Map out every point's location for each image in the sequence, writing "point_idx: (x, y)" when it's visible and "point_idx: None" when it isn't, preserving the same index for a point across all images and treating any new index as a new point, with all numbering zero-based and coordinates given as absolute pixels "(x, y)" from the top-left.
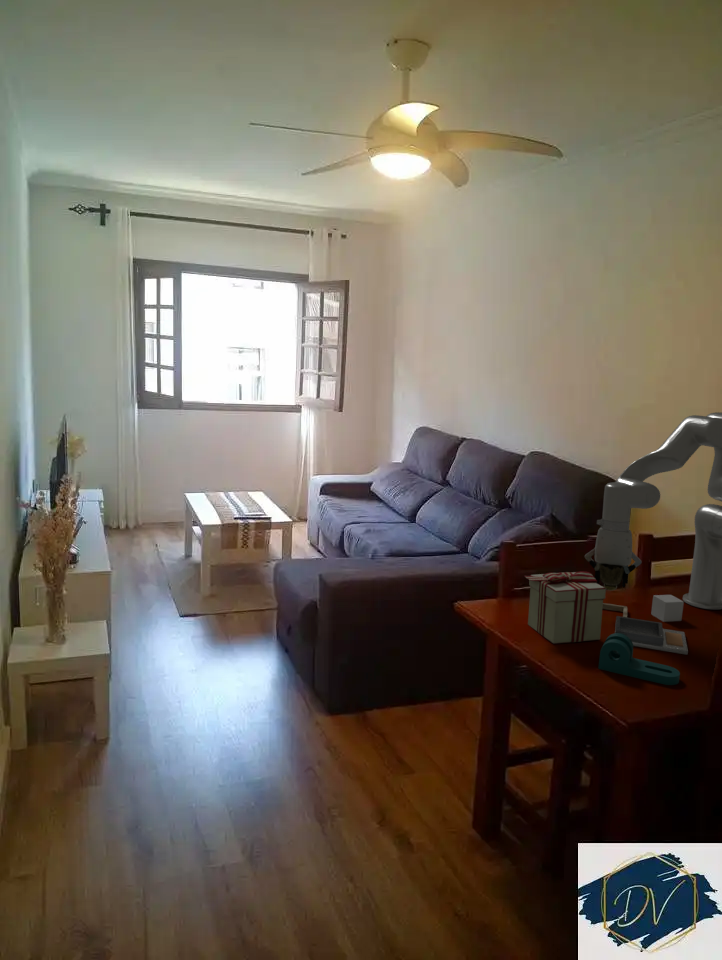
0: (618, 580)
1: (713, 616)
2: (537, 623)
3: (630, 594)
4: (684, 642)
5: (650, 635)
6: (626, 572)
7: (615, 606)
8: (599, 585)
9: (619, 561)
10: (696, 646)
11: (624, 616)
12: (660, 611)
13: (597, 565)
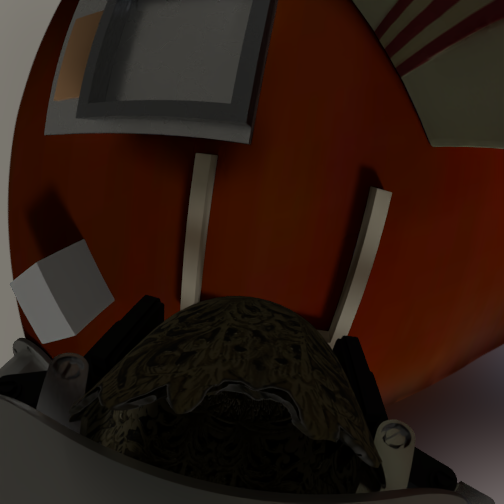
0: (176, 314)
1: (17, 303)
2: None
3: None
4: (65, 47)
5: None
6: (77, 369)
7: None
8: None
9: (58, 491)
10: (48, 68)
11: (201, 199)
12: (75, 268)
13: (397, 467)
